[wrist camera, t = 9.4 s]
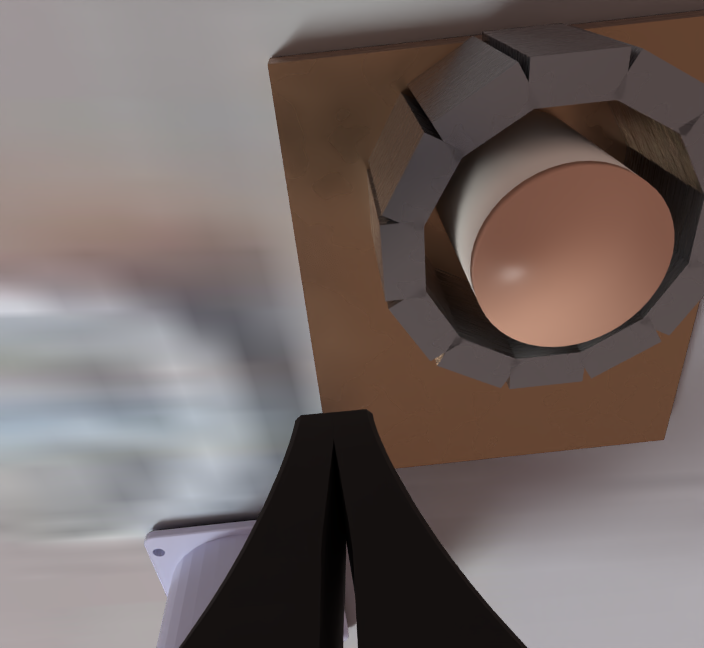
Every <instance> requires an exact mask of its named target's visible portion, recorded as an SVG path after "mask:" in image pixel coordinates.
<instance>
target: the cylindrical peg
mask: <svg viewBox="0 0 704 648" xmlns="http://www.w3.org/2000/svg"><path fill="white" fill-rule="evenodd" d="M436 206H437V211H438V214H439V217H440V219H441V222H442V224H443V226H444V228H445V231H446V233H447V235H448V237H449V239H450V241H451V244H452V246H453V248H454V250H455V252H456V255H457V257H458V259H459V261H460V263H461V265H462V268H463V270H464V272H465V274H466V276H467V279H468V281H469V283H470V285H471V287H472V290H473V292H474V294H475V296H476V298H477V300H478V303H479V305H480V307H481V309H482V310H483V312H484V314H485V316H486V317H487V318H488V319H489V321H490V322H491V323H492V324H493V325H494V326H495V327H496V328H497V329H498V330H500V331H501V332H502V333H504V334H506V335H507V336H509V337H511V338H513V339H515V340H517V341H520V342H523V343H526V344H530V345H535V346H543V347H561V346H569V345H575V344H579V343H583V342H586V341H589V340H592V339H595V338H597V337H600V336H602V335H604V334H606V333H608V332H610V331H612V330H614V329H615V328H617V327H619V326H620V325H622V324H623V323H625V322H626V321H627V320H629V319H630V318H631V317H633V316H634V315H635V314H636V313H637V312H638V311H639V310H640V309H641V308H642V307H643V306H644V305H645V304H646V303H647V302H648V301H649V300H650V298H651V297H652V296H653V294H654V293H655V292H656V290H657V289H658V287H659V286H660V284H661V282H662V280H663V279H664V277H665V274H666V272H667V270H668V267H669V265H670V261H671V258H672V254H673V248H674V226H673V220H672V216H671V213H670V211H669V208H668V206H667V204H666V202H665V201H664V199H663V198H662V196H661V195H660V194H659V193H658V191H657V190H656V189H655V188H654V187H653V186H651V185H650V184H649V183H648V182H647V181H645V180H644V179H642V178H641V177H640V176H638V175H637V174H636V173H634V172H633V171H631V170H630V169H629V168H627V167H626V166H624V165H623V164H622V163H620V162H619V161H617V160H616V159H615V158H613V157H612V156H610V155H609V154H608V153H606V152H605V151H603V150H602V149H601V148H599V147H598V146H596V145H595V144H594V143H592V142H591V141H589V140H588V139H587V138H585V137H584V136H583V135H581V134H580V133H578V132H577V131H576V130H574V129H573V128H571V127H570V126H569V125H567V124H566V123H564V122H563V121H562V120H560V119H558V118H557V117H555V116H553V115H551V114H548V113H546V112H542V111H538V110H532V111H530V112H529V113H527V114H526V115H524V116H523V117H521V118H520V119H518V120H517V121H515V122H514V123H513V124H511V125H510V126H508V127H507V128H505V129H504V130H502V131H501V132H499V133H498V134H496V135H495V136H493V137H492V138H490V139H489V140H488V141H486V142H485V143H483V144H482V145H480V146H479V147H477V148H476V149H474V150H473V151H471V152H470V153H468V154H467V155H465V156H464V157H462V159H461V160H460V162H459V164H458V166H457V168H456V170H455V171H454V173H453V175H452V177H451V179H450V180H449V182H448V184H447V186H446V188H445V189H444V191H443V193H442V195H441V197H440V198H439V200H438V202H437V204H436Z"/></svg>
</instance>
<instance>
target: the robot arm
mask: <svg viewBox="0 0 704 648" xmlns="http://www.w3.org/2000/svg"><path fill="white" fill-rule="evenodd" d="M346 541H347V547H348V554H349V560H350V566H351V572H352V579H353V585H354V591H355V600H356V619H357V637H358V648H527V647H526V646H525V645H524V643H523V642H522V641H521V640H520V639H519V638H518V637H517V636H516V635H515V634H514V633H513V631H512V630H511V629H510V628H509V627H508V626H507V625H506V624H505V623H504V622H503V620H502V619H501V618H500V617H499V616H498V615H497V614H496V613H495V612H494V611H493V609H492V608H491V607H490V606H489V605H488V604H487V602H486V601H485V600H484V599H483V597H482V596H481V595H480V594H479V593H478V591H477V590H476V589H475V588H474V587H473V585H472V584H471V583H470V582H469V580H468V579H467V578H466V577H465V575H464V574H463V573H462V571H461V570H460V569H459V567H458V566H457V565H456V564H455V562H454V561H453V560H452V558H451V557H450V556H449V554H448V553H447V551H446V550H445V549H444V547H443V546H442V544H441V543H440V542H439V540H438V539H437V537H436V536H435V534H434V533H433V531H432V530H431V528H430V527H429V525H428V524H427V522H426V521H425V519H424V518H423V516H422V515H421V513H420V512H419V510H418V508H417V507H416V505H415V503H414V502H413V500H412V499H411V497H410V495H409V493H408V491H407V490H406V488H405V486H404V484H403V483H402V481H401V479H400V477H399V476H398V474H397V472H396V470H395V468H394V466H393V464H392V462H391V460H390V458H389V456H388V454H387V452H386V450H385V448H384V445H383V443H382V441H381V438H380V436H379V433H378V431H377V428H376V425H375V422H374V418H373V413H371V412H370V411H368V410H367V409H361V410H351V411H340V412H330V413H319V414H309V415H301V416H300V417H299V418H298V419H297V420H296V421H295V425H294V429H293V433H292V436H291V439H290V443H289V446H288V449H287V451H286V454H285V457H284V459H283V462H282V465H281V467H280V470H279V472H278V475H277V477H276V479H275V482H274V484H273V486H272V488H271V491H270V493H269V495H268V498H267V500H266V502H265V504H264V506H263V509H262V511H261V513H260V515H259V517H258V519H257V520H251V521H241V522H232V523H222V524H213V525H204V526H194V527H185V528H176V529H166V530H157V531H152V532H149V533H148V534H147V535H146V538H145V541H144V546H145V548H146V550H147V552H148V555H149V557H150V559H151V561H152V564H153V566H154V568H155V571H156V573H157V575H158V577H159V580H160V582H161V584H162V586H163V589H164V591H165V593H166V596H167V602H166V606H165V611H164V615H163V620H162V624H161V629H160V633H159V638H158V642H157V647H156V648H343V642H344V641H346V640H347V639H348V637H349V633H348V625H347V619H346V613H345V608H344V603H345V570H346Z"/></svg>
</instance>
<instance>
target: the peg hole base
mask: <svg viewBox="0 0 704 648" xmlns="http://www.w3.org/2000/svg"><path fill="white" fill-rule="evenodd" d="M268 69H269V76H270V82H271V88H272V95H273V101H274V107H275V114H276V120H277V127H278V133H279V139H280V146H281V152H282V158H283V165H284V171H285V177H286V184H287V190H288V196H289V203H290V209H291V215H292V222H293V228H294V234H295V241H296V247H297V253H298V260H299V266H300V272H301V279H302V285H303V291H304V298H305V304H306V310H307V317H308V323H309V329H310V336H311V342H312V348H313V355H314V361H315V367H316V374H317V380H318V386H319V393H320V399H321V405H322V412H323V413H330V412H340V411H351V410H361V409H367V410H368V411H370V412H371V413H373V418H374V422H375V425H376V428H377V431H378V433H379V436H380V438H381V441H382V443H383V445H384V448H385V450H386V452H387V454H388V456H389V458H390V460H391V462H392V464H393V466H394V468H405V467H414V466H423V465H433V464H442V463H451V462H461V461H470V460H480V459H489V458H498V457H508V456H517V455H526V454H536V453H545V452H554V451H564V450H573V449H582V448H592V447H601V446H610V445H620V444H629V443H638V442H648V441H657V440H664V438H665V434H666V430H667V426H668V422H669V418H670V414H671V410H672V406H673V403H674V399H675V395H676V391H677V387H678V383H679V379H680V375H681V372H682V368H683V364H684V360H685V356H686V352H687V348H688V344H689V341H690V337H691V333H692V329H693V325H694V321H695V317H696V313H697V310H698V306H699V302H700V300H701V298H702V297H703V296H704V10H699V11H690V12H681V13H672V14H662V15H653V16H644V17H635V18H626V19H617V20H608V21H599V22H590V23H581V24H572V25H565V24H562V23H558V24H549V25H540V26H531V27H522V28H512V29H503V30H494V31H485V32H482V34H481V35H472V36H463V37H454V38H445V39H436V40H426V41H417V42H408V43H399V44H390V45H381V46H372V47H363V48H354V49H345V50H336V51H327V52H317V53H308V54H299V55H290V56H281V57H272V58H270V59H269V62H268ZM532 110H538V111H542V112H546V113H548V114H551V115H553V116H555V117H557V118H558V119H560V120H562V121H563V122H564V123H566V124H567V125H569V126H570V127H571V128H573V129H574V130H576V131H577V132H578V133H580V134H581V135H583V136H584V137H585V138H587V139H588V140H589V141H591V142H592V143H594V144H595V145H596V146H598V147H599V148H601V149H602V150H603V151H605V152H606V153H608V154H609V155H610V156H612V157H613V158H615V159H616V160H617V161H619V162H620V163H622V164H623V165H624V166H626V167H627V168H629V169H630V170H631V171H633V172H634V173H636V174H637V175H638V176H640V177H641V178H642V179H644V180H645V181H647V182H648V183H649V184H650V185H651V186H653V187H654V188H655V189H656V190H657V191H658V193H659V194H660V195H661V196H662V198H663V199H664V201H665V202H666V204H667V206H668V208H669V211H670V213H671V216H672V220H673V226H674V248H673V254H672V258H671V261H670V265H669V267H668V270H667V272H666V274H665V277H664V279H663V280H662V282H661V284H660V286H659V287H658V289H657V290H656V292H655V293H654V294H653V296H652V297H651V298H650V300H649V301H648V302H647V303H646V304H645V305H644V306H643V307H642V308H641V309H640V310H639V311H638V312H637V313H636V314H635V315H634V316H633V317H631V318H630V319H629V320H627V321H626V322H625V323H623V324H622V325H620V326H619V327H617V328H615V329H614V330H612V331H610V332H608V333H606V334H604V335H602V336H600V337H597V338H595V339H592V340H589V341H586V342H583V343H579V344H575V345H569V346H561V347H543V346H535V345H530V344H526V343H523V342H520V341H517V340H515V339H513V338H511V337H509V336H507V335H506V334H504V333H502V332H501V331H500V330H498V329H497V328H496V327H495V326H494V325H493V324H492V323H491V322H490V321H489V319H488V318H487V317H486V316H485V314H484V312H483V310H482V309H481V307H480V305H479V303H478V300H477V298H476V296H475V294H474V292H473V290H472V287H471V285H470V283H469V281H468V279H467V276H466V274H465V272H464V270H463V268H462V265H461V263H460V261H459V259H458V257H457V255H456V252H455V250H454V248H453V246H452V244H451V241H450V239H449V237H448V235H447V233H446V231H445V228H444V226H443V224H442V222H441V219H440V217H439V214H438V211H437V206H436V204H437V202H438V200H439V198H440V197H441V195H442V193H443V191H444V189H445V188H446V186H447V184H448V182H449V180H450V179H451V177H452V175H453V173H454V171H455V170H456V168H457V166H458V164H459V162H460V160H461V159H462V157H464V156H465V155H467V154H468V153H470V152H471V151H473V150H474V149H476V148H477V147H479V146H480V145H482V144H483V143H485V142H486V141H488V140H489V139H490V138H492V137H493V136H495V135H496V134H498V133H499V132H501V131H502V130H504V129H505V128H507V127H508V126H510V125H511V124H513V123H514V122H515V121H517V120H518V119H520V118H521V117H523V116H524V115H526V114H527V113H529V112H530V111H532Z"/></svg>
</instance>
